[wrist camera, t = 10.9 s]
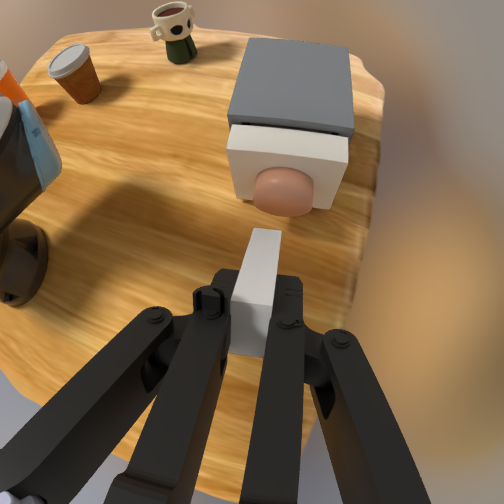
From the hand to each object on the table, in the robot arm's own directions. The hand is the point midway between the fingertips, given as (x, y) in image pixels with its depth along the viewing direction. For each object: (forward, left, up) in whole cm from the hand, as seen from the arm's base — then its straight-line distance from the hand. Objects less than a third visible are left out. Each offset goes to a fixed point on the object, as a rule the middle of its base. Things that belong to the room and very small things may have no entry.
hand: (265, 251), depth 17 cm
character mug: (+37, +39, -24) cm, 58 cm away
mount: (+25, +9, -24) cm, 35 cm away
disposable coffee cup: (+21, +54, -24) cm, 62 cm away
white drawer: (+20, +7, -23) cm, 32 cm away
